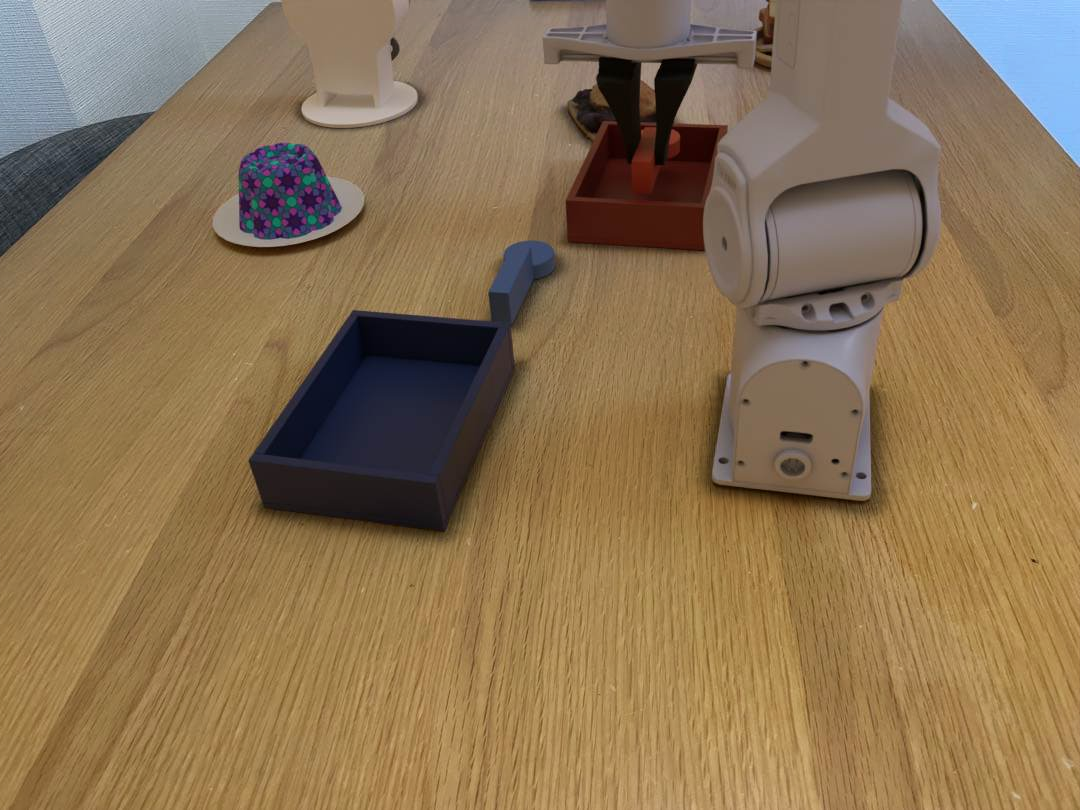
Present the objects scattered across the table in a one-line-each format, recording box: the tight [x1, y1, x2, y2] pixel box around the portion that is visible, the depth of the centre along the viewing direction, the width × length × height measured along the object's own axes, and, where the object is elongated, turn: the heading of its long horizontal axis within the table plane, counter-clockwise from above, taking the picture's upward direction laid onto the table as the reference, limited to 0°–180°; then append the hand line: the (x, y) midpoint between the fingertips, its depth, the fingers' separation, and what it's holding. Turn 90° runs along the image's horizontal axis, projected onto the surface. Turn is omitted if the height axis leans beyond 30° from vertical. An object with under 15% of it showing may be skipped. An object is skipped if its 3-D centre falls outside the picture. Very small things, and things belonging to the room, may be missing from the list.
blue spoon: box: [487, 239, 556, 327], centre depth 68 cm, size 9×4×3 cm, turn 166°
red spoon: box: [632, 127, 680, 195], centre depth 75 cm, size 9×4×3 cm, turn 166°
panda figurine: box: [280, 0, 419, 129], centre depth 92 cm, size 12×11×15 cm
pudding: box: [211, 142, 365, 248], centre depth 77 cm, size 12×12×5 cm
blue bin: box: [247, 309, 516, 532], centre depth 56 cm, size 14×10×3 cm
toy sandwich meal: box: [753, 0, 776, 69], centre depth 99 cm, size 12×14×5 cm
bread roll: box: [566, 80, 656, 142], centre depth 88 cm, size 11×8×4 cm
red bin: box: [565, 121, 729, 251], centre depth 76 cm, size 14×10×3 cm
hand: (647, 159), depth 74 cm, fingers closed on red spoon
